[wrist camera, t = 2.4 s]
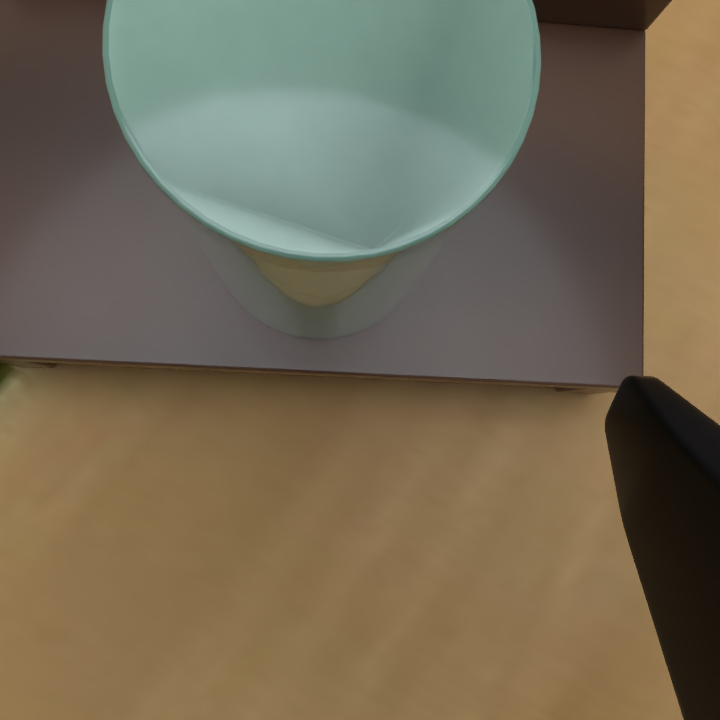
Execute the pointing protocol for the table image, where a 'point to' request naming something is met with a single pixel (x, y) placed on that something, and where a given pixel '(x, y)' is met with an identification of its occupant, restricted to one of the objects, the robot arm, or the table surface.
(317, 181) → the green mug
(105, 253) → the shelf
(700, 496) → the robot arm
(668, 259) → the table surface
